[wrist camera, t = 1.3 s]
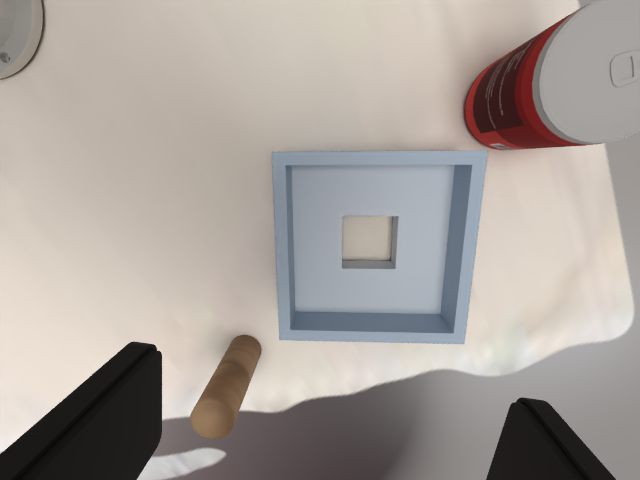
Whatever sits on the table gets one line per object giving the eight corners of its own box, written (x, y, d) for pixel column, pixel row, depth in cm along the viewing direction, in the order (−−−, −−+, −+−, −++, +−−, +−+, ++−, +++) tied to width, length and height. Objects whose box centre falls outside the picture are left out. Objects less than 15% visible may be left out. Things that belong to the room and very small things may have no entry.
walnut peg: (231, 362, 35) (192, 438, 26) (229, 334, 35) (187, 402, 25) (262, 363, 35) (234, 439, 26) (260, 335, 34) (231, 403, 25)
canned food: (569, 117, 28) (716, 89, 17) (485, 168, 29) (572, 172, 18) (531, 36, 26) (666, -49, 16) (446, 94, 28) (515, 51, 17)
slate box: (289, 308, 33) (279, 340, 28) (284, 153, 30) (271, 151, 24) (441, 311, 33) (464, 344, 27) (457, 152, 29) (487, 150, 23)
